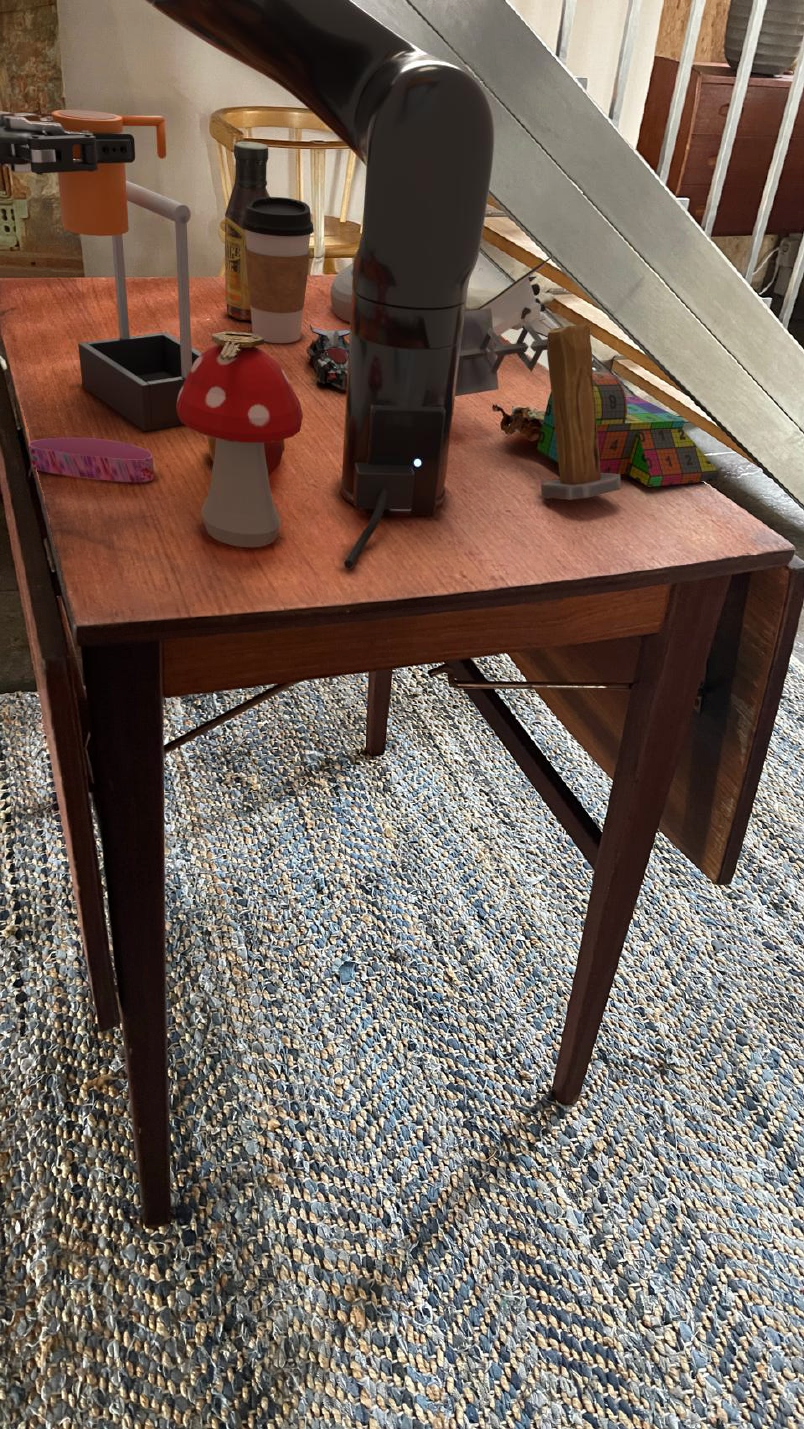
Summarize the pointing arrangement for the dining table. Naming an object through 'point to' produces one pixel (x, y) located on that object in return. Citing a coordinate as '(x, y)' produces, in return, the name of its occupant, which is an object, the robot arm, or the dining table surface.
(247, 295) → the sauce bottle
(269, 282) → the coffee cup
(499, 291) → the arrowhead
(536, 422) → the brown crumpled lump
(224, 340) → the key
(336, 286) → the decorative stone
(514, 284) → the space shuttle model
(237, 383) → the decorative mushroom
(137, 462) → the headband
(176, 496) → the dining table surface
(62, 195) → the orange mug
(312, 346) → the toy car
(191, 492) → the dining table surface
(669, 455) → the building blocks
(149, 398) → the basket
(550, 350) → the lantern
